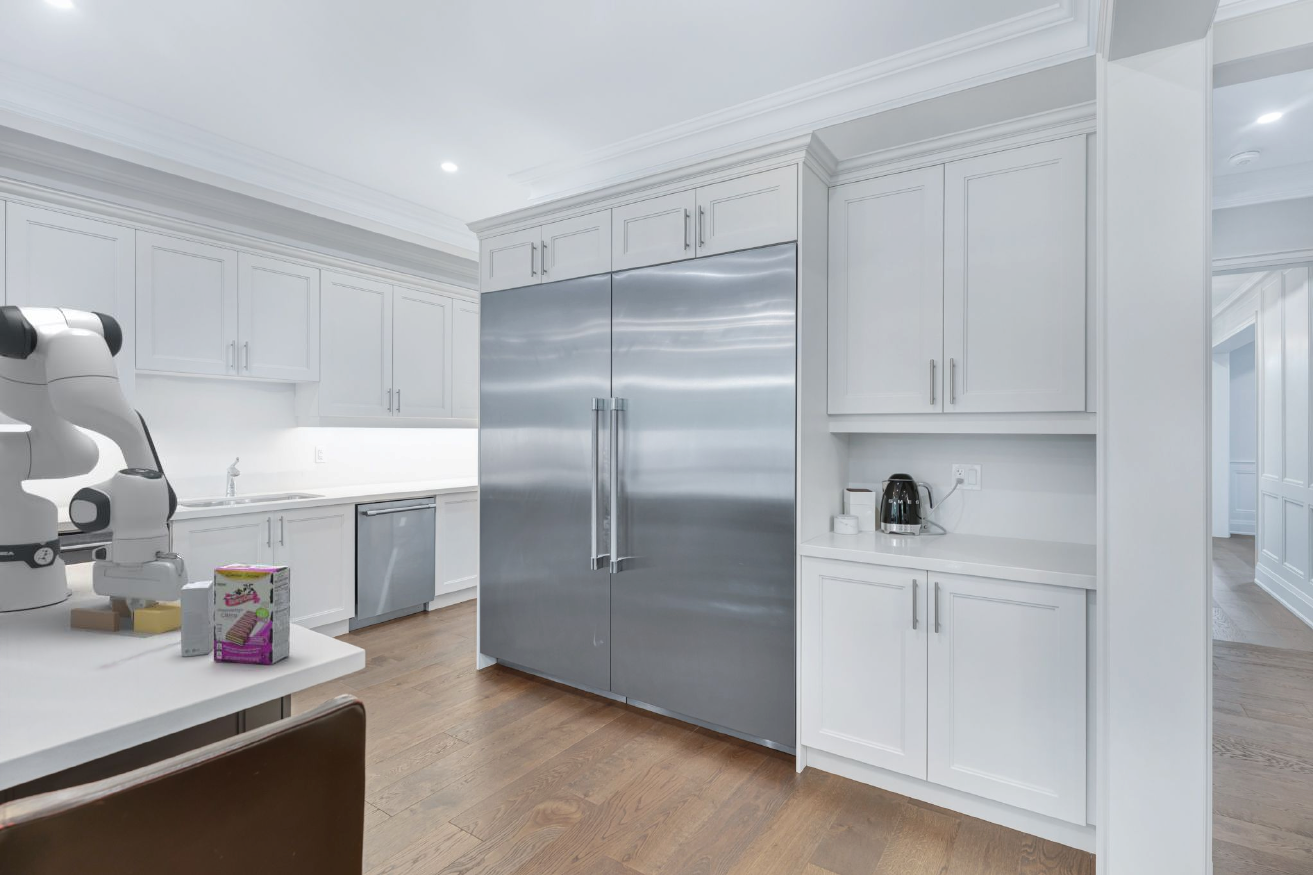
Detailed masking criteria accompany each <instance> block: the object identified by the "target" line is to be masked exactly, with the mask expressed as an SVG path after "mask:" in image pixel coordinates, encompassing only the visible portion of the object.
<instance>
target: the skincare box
mask: <svg viewBox="0 0 1313 875" xmlns="http://www.w3.org/2000/svg"><path fill="white" fill-rule="evenodd" d="M179 601H180V604H181V627H180V647H181V649H180V650H181V657H193V656H202V655H208V654H210V653H211V651H212V650H214V581H213V580H205V581H204V580H203V581H195V582H188V584H186V585H184V586H183V588H182V589H181V590H180V600H179Z"/></svg>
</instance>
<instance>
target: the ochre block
mask: <svg viewBox="0 0 1313 875" xmlns="http://www.w3.org/2000/svg"><path fill="white" fill-rule="evenodd" d="M179 628H181V603H173V602H162V603H159V604H157V605H154V606H150V607H146V608H142V609H138V610H134V631H138V632H147V633H156V634H157V635H160V634H163V633H166V632H170V631H173V630H176V629H179ZM169 630H170V631H169Z"/></svg>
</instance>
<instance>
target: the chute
mask: <svg viewBox="0 0 1313 875" xmlns="http://www.w3.org/2000/svg"><path fill="white" fill-rule="evenodd" d="M157 604H160V601H156V603H155V605H157ZM141 606H142V604H141ZM111 610H112V611H108V610H99V609H91V608H90V609H88V608H80V607H79V608H78V607H76V608H71V609H70V626H69V627H66V628H65V630H69V631H70V630H71V631H78V632H79V631H80V632H86V633H87V632H88V633H95V634H96V633H97V634H105V635H114V636H123V637H132V638H140V639H141V638H142V639H146V638H151V637H153V636H156V635H158V634H156V633H147V632H138V631H134V620H131V611H130V610H129V608H128V606H127V604H126V599H120V598H117V599H112V608H111ZM170 631H171V630H169V631H168V632H170Z"/></svg>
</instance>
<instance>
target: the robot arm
mask: <svg viewBox="0 0 1313 875" xmlns="http://www.w3.org/2000/svg"><path fill="white" fill-rule="evenodd" d="M122 346H123V331H122V328H121V326H120V323H118V321H117V320H116V319H115V318H114V317H113V316H111V315H109V314H105V313H102V312H98V311H97V312H96V311H91V312H89V311H83V310H79V309H72V308H64V307H44V306H43V307H41V306H39V307H37V306H17V305H0V412H1V413H2V414H3V415H5V416H7V417H8V418H10V419H12V420H15V421H18V422H21V423H23V424H26V425H28V426H30V430H28V431H26V430H25V431H0V612H8V611H10V612H11V611H20V610H27V609H33V608H39V607H43V606H49V605H53V604H56V603H60V602H62V601H65V600H67V599H68V596H70V595H72V594H73V589H72V588H68V580H67V572H66V571H67V570H66V564H65V561H64V560H63V559H62V558H60V556H59V555H60V554H61V551H62V550H61V548H62V543H61V539H60V538H59V509H58V506H57V505H56V504H55V503H54V502H53V501H51V500H50V499H48V498H46V497H42V496H40V495H38V494H34V493H30V492H28V491H26V490H24V488H23V486H22V482H23V481H24V482H25V481H28V480H29V481H32V480H34V481H37V480H58V479H59V480H62V479H63V480H64V479H68V478H74V477H80V476H83V475H88V474H89V473H91V472H92V471H93V470H94V469H95V468H96V466H97V464H98V463H99V459H100V450H99V447H98V445H97V443H96V442H95V440H94V439H92V438H91V437H90V436H89V435H87V434H86V433H83V432H81V430H79V429H78V428H77V427H80V428H83V429H86V430H89V431H93V432H94V433H98V434H100V435H103V436H104V437H106V438H108V439H110V440H111V441H112V442H114V443H115V444H116V445H117V446H118V448H119V449H120V451H121V453H122V456H123V459H124V462H125V464H126V467H127V468H123V469H119V470H117V472H115V473H114V475H113V476H112V477H111V478H109V479H107V480H105V481H102V482H100V483H97V484H93V485H90V486H85V487H82V488H80V489H79V490H78V491H77V492H75V493H74V495H73V496H72V498H70V501H69V505H68V515H69V519H70V521H71V523H72V524H73V525H74V526H75V527H76V528H77V529H78V530H80V531H81V532H84V533H86V534H87V533H90V534H102V533H103V534H104V533H108V532H109V533H111V532H112V538H111V540H112V542H111V543H109V544H105V545H103V546H99V547H98V548H97V547H96V548H94V549H92V552H91V558H92V560H94V563H93V566H92V589H93V591H94V593H95V595H96V596H104V597H110V596H113V597H124V598H126V604H127V606H128V608H129V610H130V611H131V620H134V610H138V609H142V608H146V607H150V606H154V605H155V603H156V602H160V601H161V602H167V603H173V602H175V601H180V590H181V589H182V588H183V586H184V585H186V584H188V583H189V577H188V570H187V566H186V564H185V560H184V558H182V557H181V556H180V555H179V553H177V552H170V532H169V529H168V525H167V523H168V522H169V521H170V520H171V519H172V517H173V516H174V515H175V513H176V511H177V508H178V507H177V506H178V498H177V494H176V492H175V490H174V489H173V487H172V485H171V483H170V482H169V480H168V478H167V477H166V474H165V471H164V469H163V465H162V463H161V461H160V458H159V455H158V452H157V450H156V447H155V445H154V441H153V439H152V436H151V433H150V431H149V428H148V425H147V424H146V421H145V420H144V418H143V416H142V415H141V413H140V412H139V411H138V410H136V409H134V407H132V405H131V404H130V402H128V400H127V398H126V397H125V394H124V393H123V392H124V391H122V388H121V384H120V379H119V374H118V371H117V367H116V363H115V361H114V357H116V356H117V354H119V352H121V349H122ZM76 426H77V427H76ZM141 604H142V606H141Z"/></svg>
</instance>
